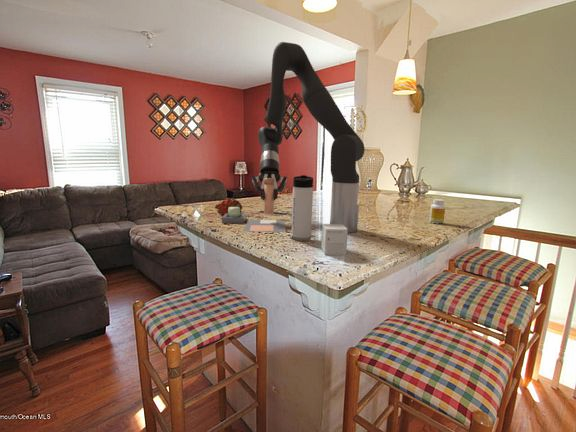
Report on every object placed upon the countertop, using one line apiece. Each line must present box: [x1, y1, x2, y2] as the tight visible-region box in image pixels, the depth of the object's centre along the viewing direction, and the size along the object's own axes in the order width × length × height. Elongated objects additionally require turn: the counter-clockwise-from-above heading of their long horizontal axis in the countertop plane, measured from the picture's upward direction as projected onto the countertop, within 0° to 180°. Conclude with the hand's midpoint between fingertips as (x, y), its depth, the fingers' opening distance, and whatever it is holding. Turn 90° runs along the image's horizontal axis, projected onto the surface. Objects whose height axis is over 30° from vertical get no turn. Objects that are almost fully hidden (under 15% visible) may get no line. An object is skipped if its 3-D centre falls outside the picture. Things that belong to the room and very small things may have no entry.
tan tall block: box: [263, 178, 275, 215], centre depth 115 cm, size 4×4×13 cm
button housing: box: [221, 213, 247, 224], centre depth 117 cm, size 8×8×3 cm
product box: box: [320, 223, 349, 256], centre depth 86 cm, size 6×6×7 cm
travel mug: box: [291, 174, 314, 242], centre depth 97 cm, size 6×7×20 cm
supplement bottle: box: [428, 198, 446, 224], centre depth 126 cm, size 5×5×10 cm
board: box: [243, 219, 286, 233], centre depth 111 cm, size 14×18×1 cm
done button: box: [228, 207, 241, 217], centre depth 117 cm, size 4×4×4 cm
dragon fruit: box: [214, 197, 243, 215], centre depth 130 cm, size 8×8×12 cm
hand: (269, 199), depth 113 cm, fingers closed on tan tall block, 3 cm apart
